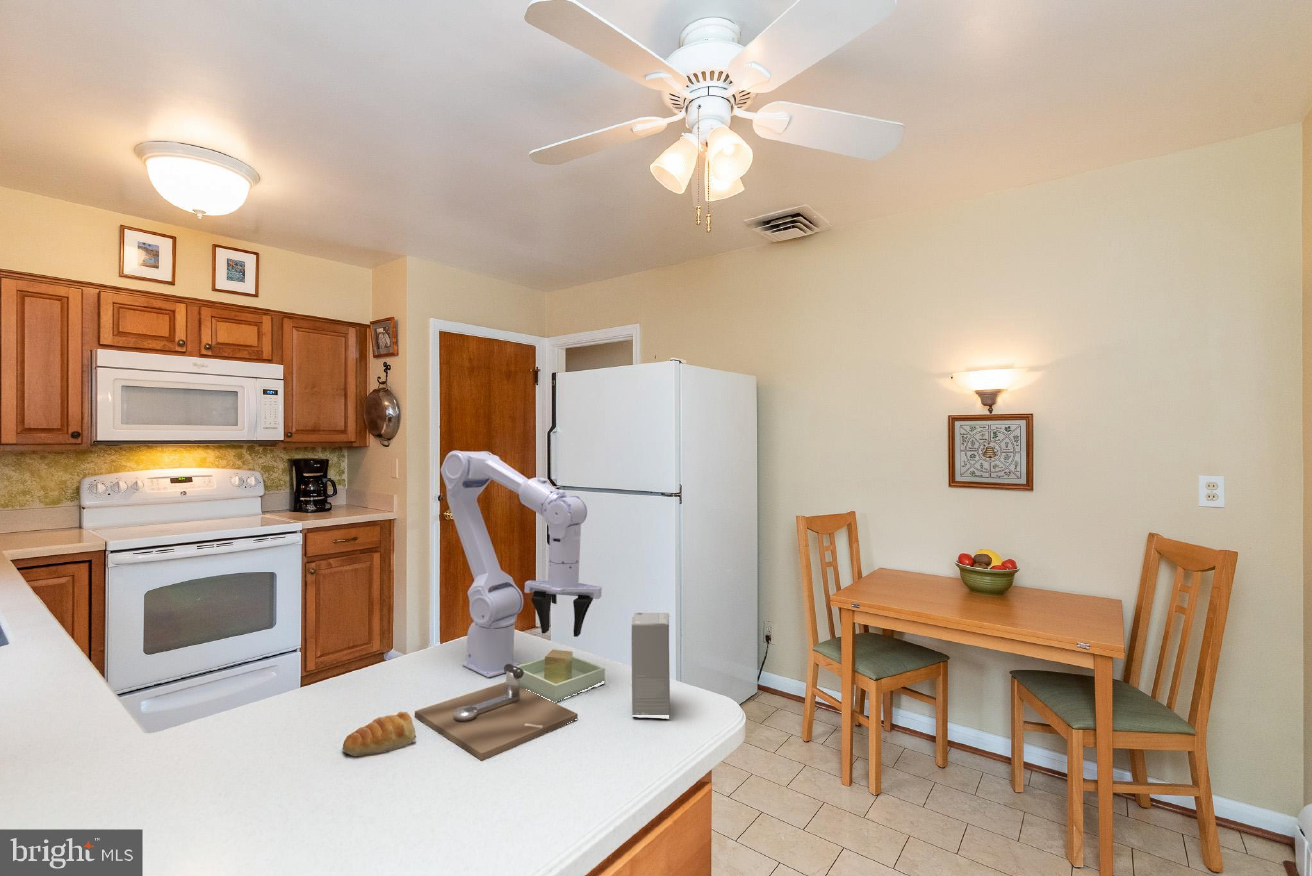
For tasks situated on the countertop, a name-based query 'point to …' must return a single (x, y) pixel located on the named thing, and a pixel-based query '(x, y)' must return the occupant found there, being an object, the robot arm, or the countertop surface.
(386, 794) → the countertop surface
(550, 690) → the tray
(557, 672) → the block
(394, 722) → the pastry
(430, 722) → the crank plate
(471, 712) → the crank
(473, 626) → the robot arm
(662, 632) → the skincare box
